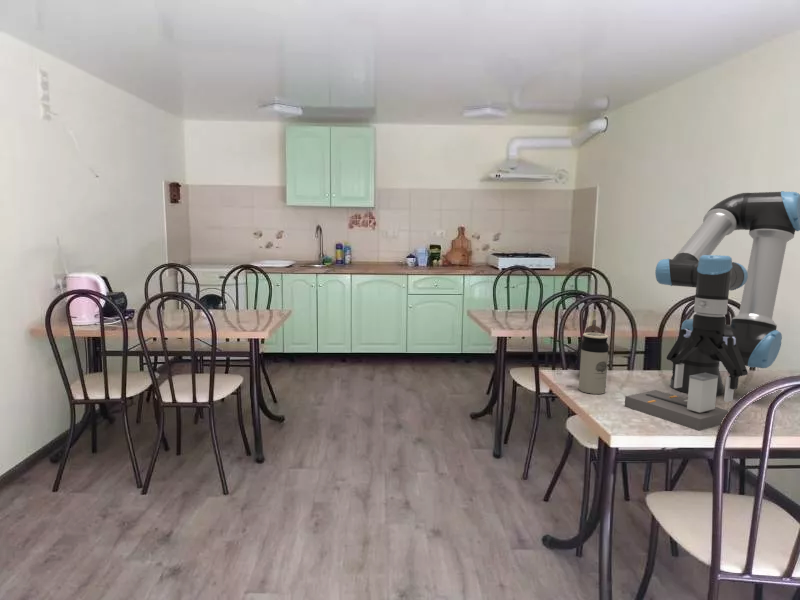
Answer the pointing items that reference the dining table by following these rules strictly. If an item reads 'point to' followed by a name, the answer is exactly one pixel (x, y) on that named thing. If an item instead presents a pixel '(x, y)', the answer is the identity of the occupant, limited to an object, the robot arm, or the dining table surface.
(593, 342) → the travel mug
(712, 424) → the console
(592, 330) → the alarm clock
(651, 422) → the dining table surface
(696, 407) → the fader
